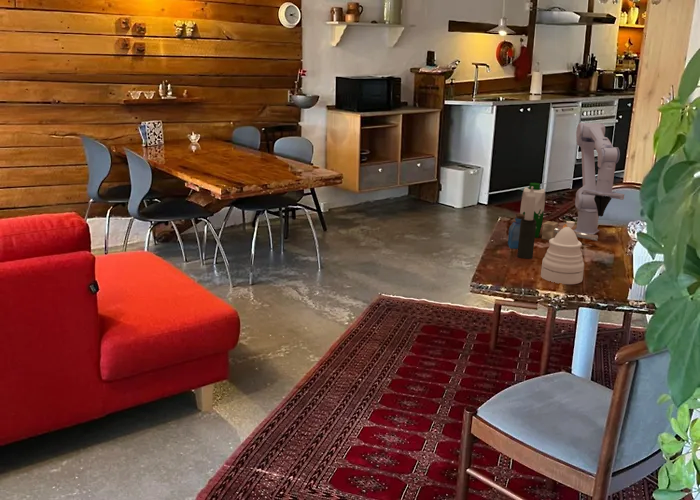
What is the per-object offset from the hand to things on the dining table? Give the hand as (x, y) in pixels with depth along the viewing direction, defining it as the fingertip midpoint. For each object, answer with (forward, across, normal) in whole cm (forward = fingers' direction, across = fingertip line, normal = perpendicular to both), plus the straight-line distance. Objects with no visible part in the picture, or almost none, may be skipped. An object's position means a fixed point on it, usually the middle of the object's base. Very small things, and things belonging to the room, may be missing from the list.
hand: (600, 215), depth 253 cm
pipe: (+8, -8, -7) cm, 13 cm away
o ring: (+10, -10, -6) cm, 16 cm away
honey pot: (+12, +4, -50) cm, 51 cm away
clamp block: (+10, -16, -6) cm, 20 cm away
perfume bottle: (+11, -21, -26) cm, 35 cm away
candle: (+11, -14, -36) cm, 40 cm away
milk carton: (+10, -24, -7) cm, 27 cm away
